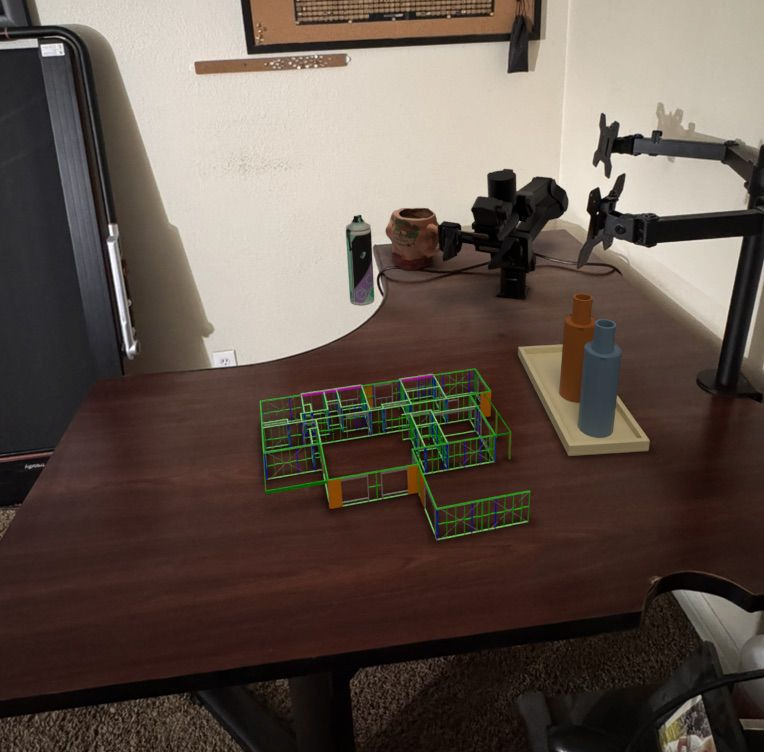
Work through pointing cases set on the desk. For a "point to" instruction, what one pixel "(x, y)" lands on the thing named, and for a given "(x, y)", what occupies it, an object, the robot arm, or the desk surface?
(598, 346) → the slate bottle
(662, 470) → the desk surface
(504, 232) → the robot arm
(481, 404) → the house model
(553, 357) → the tray
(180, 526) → the desk surface
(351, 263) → the spray can
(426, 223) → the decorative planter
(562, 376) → the amber bottle
